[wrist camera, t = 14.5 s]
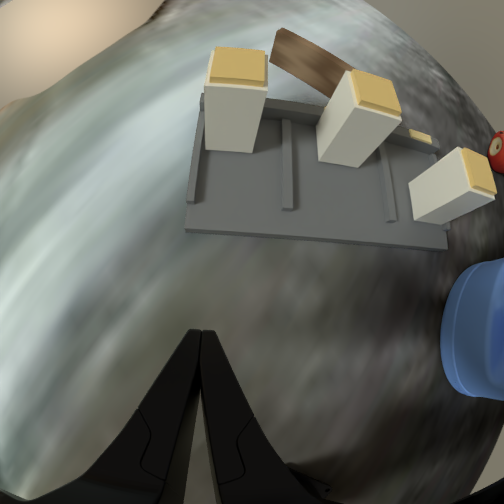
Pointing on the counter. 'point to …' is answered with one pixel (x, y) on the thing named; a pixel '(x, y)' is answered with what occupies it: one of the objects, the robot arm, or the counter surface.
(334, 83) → the plaque
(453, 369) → the water jug
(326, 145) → the button middle
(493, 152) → the apple
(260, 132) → the button board
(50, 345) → the counter surface
